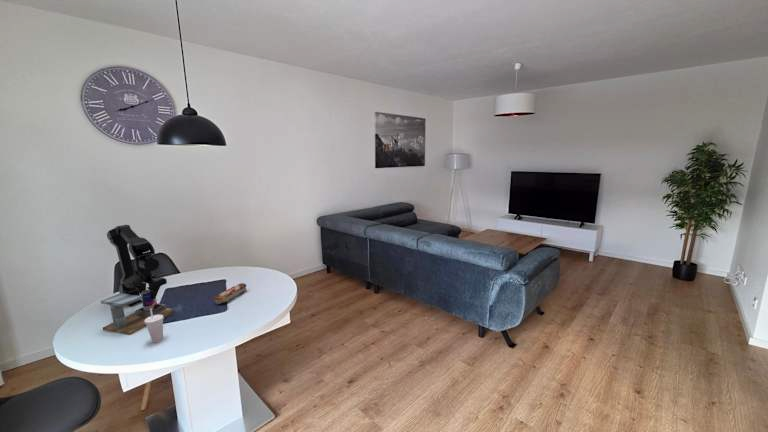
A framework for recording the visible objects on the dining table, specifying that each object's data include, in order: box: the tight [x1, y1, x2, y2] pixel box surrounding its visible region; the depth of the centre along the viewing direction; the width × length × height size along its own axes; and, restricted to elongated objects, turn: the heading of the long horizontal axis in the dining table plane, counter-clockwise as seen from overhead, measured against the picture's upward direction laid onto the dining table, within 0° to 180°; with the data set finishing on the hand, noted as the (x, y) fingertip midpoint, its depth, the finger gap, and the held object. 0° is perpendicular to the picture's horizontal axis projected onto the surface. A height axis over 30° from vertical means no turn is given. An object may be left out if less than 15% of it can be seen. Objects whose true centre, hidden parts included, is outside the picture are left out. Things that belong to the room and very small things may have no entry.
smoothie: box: [145, 308, 165, 343], centre depth 129 cm, size 6×6×14 cm
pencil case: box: [213, 282, 247, 305], centre depth 169 cm, size 11×20×5 cm, turn 152°
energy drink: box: [140, 289, 158, 312], centre depth 151 cm, size 5×5×12 cm
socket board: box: [100, 293, 175, 336], centre depth 145 cm, size 16×21×14 cm
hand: (148, 298), depth 150 cm, fingers open, 6 cm apart
